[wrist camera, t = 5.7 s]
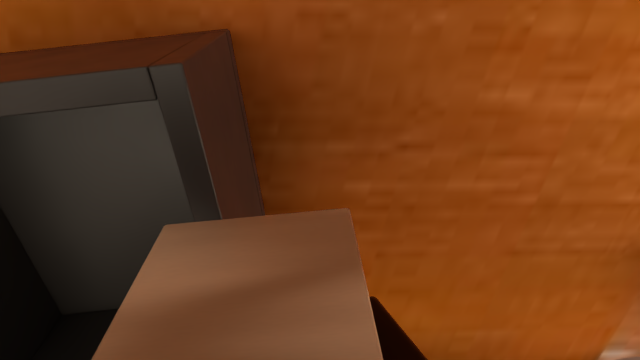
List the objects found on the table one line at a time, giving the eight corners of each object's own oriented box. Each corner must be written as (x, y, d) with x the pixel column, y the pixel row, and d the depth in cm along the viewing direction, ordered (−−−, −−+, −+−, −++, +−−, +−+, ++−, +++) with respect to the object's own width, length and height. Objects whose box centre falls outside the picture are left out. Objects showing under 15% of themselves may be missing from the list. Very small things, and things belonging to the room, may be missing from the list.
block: (349, 206, 8) (387, 379, 5) (355, 334, 10) (387, 527, 7) (163, 223, 8) (61, 409, 5) (204, 349, 10) (153, 550, 7)
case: (-84, 62, 15) (-349, 120, 9) (229, 28, 15) (181, 62, 9) (62, 314, 21) (-33, 449, 15) (280, 291, 21) (273, 416, 15)
